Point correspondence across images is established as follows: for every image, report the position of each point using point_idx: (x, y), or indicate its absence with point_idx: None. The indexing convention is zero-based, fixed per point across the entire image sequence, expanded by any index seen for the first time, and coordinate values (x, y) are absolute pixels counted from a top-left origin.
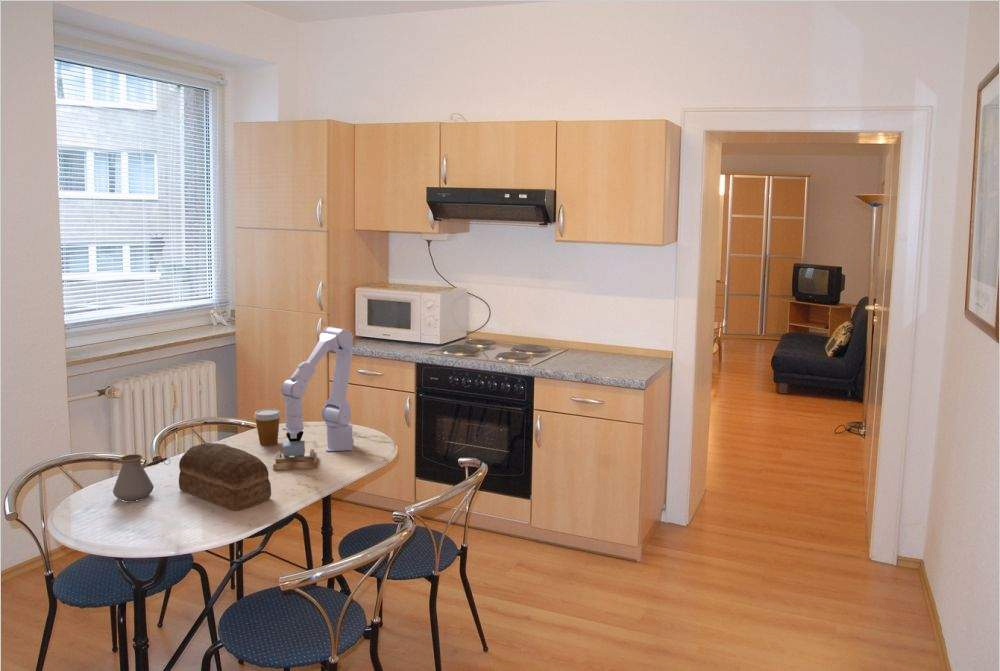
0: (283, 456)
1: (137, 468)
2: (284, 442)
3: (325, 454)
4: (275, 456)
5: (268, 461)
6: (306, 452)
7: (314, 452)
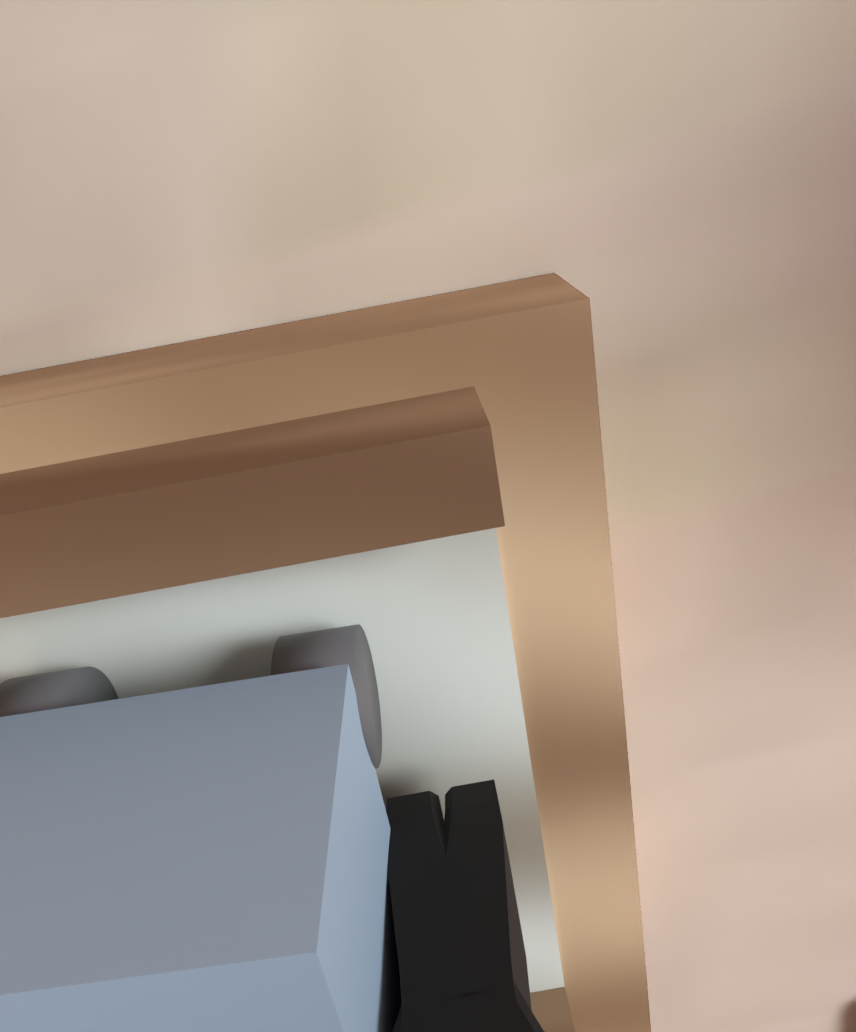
0: (355, 565)
1: None
2: (198, 1003)
3: (756, 1002)
4: (364, 354)
5: (418, 106)
6: (638, 909)
7: (621, 1016)
